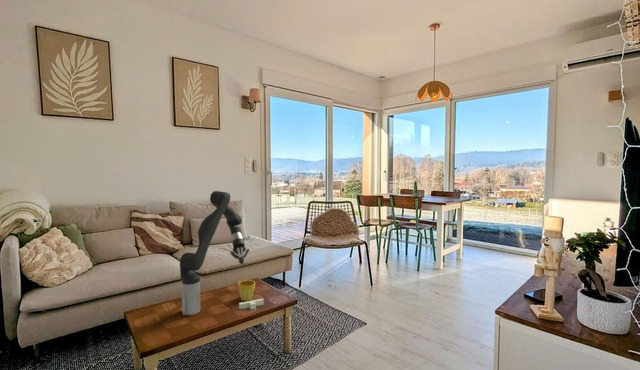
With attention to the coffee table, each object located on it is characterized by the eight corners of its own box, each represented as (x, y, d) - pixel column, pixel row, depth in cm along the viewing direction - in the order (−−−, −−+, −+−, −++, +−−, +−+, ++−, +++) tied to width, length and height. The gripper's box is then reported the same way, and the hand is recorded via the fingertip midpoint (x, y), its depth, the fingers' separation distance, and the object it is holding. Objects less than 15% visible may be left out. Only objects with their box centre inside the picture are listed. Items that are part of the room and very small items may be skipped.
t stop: (241, 311, 174) (241, 306, 173) (239, 308, 178) (239, 302, 178) (265, 306, 180) (265, 301, 180) (262, 303, 184) (262, 298, 184)
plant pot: (252, 302, 186) (252, 286, 185) (235, 301, 186) (235, 286, 185) (256, 295, 196) (256, 280, 195) (240, 294, 196) (240, 279, 196)
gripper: (228, 238, 206) (232, 261, 195) (248, 236, 212) (253, 259, 202) (227, 244, 211) (230, 267, 201) (246, 242, 217) (250, 264, 207)
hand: (241, 263), depth 201 cm, fingers closed
